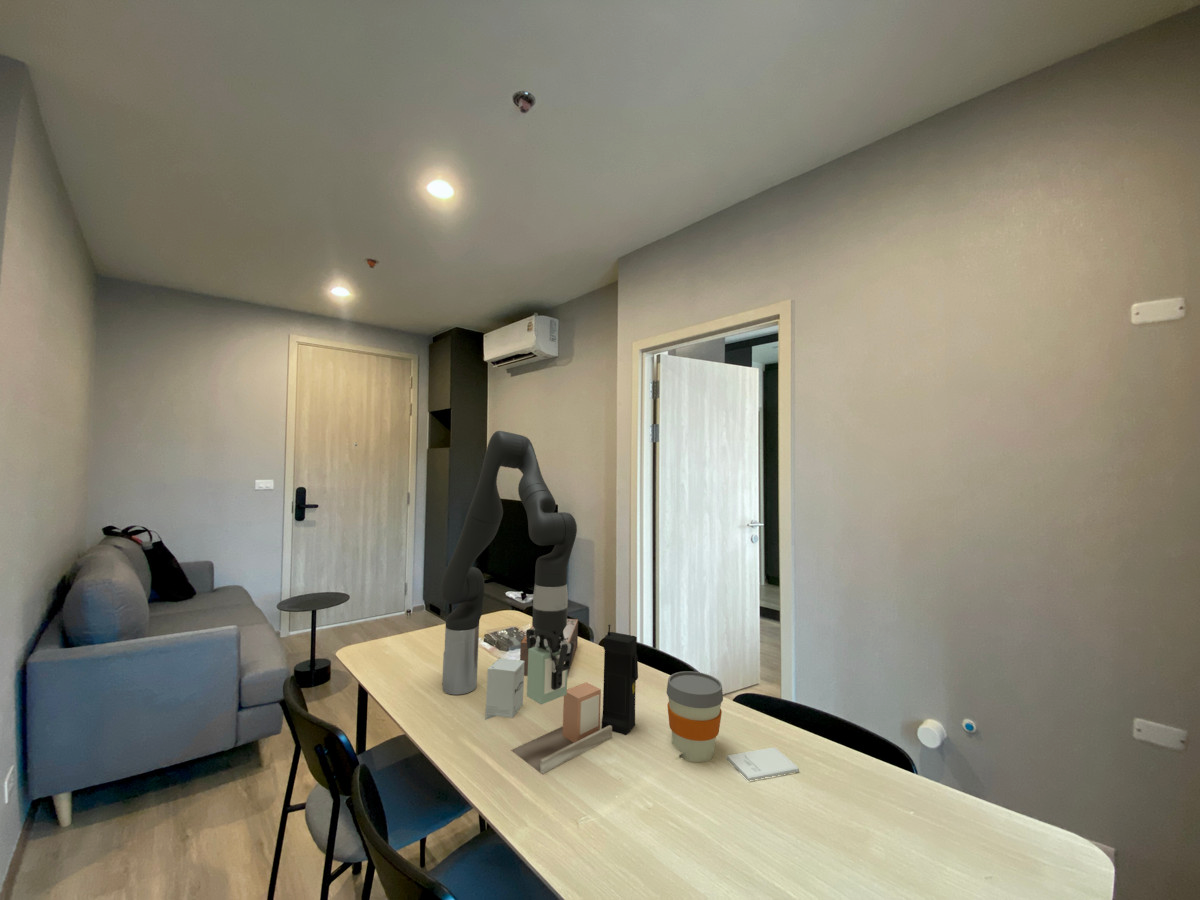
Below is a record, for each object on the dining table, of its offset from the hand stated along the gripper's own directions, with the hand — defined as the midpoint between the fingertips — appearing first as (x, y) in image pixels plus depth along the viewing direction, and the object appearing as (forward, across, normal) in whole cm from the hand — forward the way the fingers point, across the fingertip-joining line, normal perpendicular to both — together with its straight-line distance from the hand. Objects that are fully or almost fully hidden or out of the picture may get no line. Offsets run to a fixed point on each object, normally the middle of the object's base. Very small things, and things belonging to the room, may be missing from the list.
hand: (547, 683), depth 103 cm
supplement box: (+16, +21, -4) cm, 27 cm away
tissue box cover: (+16, +41, -35) cm, 57 cm away
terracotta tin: (+14, 0, -10) cm, 18 cm away
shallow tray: (+16, 0, -5) cm, 17 cm away
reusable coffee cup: (+16, -20, -27) cm, 37 cm away
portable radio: (+16, -4, -20) cm, 26 cm away
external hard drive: (+17, -33, -33) cm, 50 cm away
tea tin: (+3, 0, 0) cm, 3 cm away
